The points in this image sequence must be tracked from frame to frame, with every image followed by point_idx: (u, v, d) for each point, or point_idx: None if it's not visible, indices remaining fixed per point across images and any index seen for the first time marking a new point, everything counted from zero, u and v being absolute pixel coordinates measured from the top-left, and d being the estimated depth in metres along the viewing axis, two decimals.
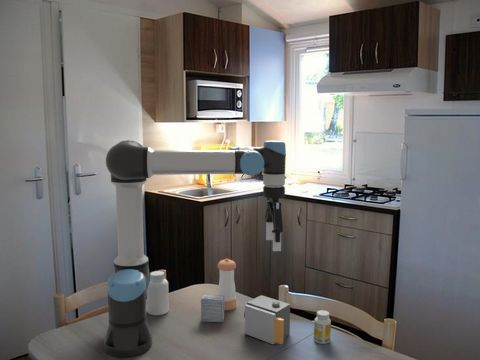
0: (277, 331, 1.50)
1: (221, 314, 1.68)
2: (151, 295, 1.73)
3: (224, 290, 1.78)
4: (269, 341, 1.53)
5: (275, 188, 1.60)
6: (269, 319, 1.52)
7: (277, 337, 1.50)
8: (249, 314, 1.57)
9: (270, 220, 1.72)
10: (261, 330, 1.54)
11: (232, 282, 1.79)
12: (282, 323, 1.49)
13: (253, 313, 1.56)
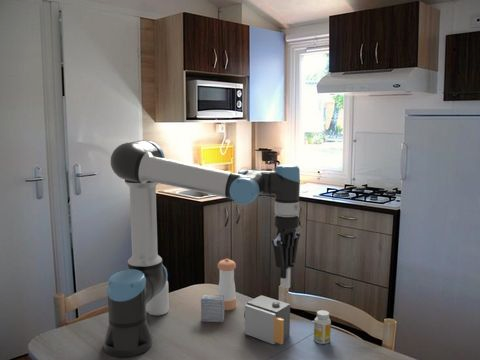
0: (277, 331, 1.50)
1: (221, 314, 1.68)
2: None
3: (224, 290, 1.78)
4: (269, 341, 1.53)
5: (280, 217, 1.44)
6: (269, 319, 1.52)
7: (277, 337, 1.50)
8: (249, 314, 1.57)
9: (287, 263, 1.50)
10: (261, 330, 1.54)
11: (232, 282, 1.79)
12: (282, 323, 1.49)
13: (253, 313, 1.56)
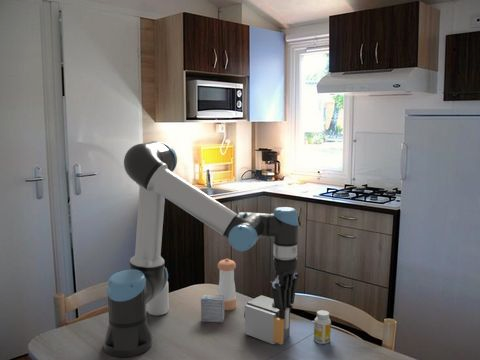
0: (277, 331, 1.50)
1: (221, 314, 1.68)
2: None
3: (224, 290, 1.78)
4: (269, 341, 1.53)
5: (278, 260, 1.46)
6: (269, 319, 1.52)
7: (277, 337, 1.50)
8: (249, 314, 1.57)
9: (286, 304, 1.51)
10: (261, 330, 1.54)
11: (232, 282, 1.79)
12: (282, 323, 1.49)
13: (253, 313, 1.56)
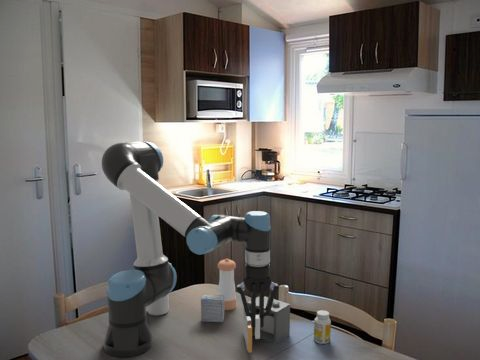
0: (247, 338, 1.46)
1: (221, 314, 1.68)
2: None
3: (224, 290, 1.78)
4: (246, 346, 1.49)
5: (246, 264, 1.42)
6: (246, 324, 1.48)
7: (247, 344, 1.46)
8: (244, 314, 1.56)
9: (260, 313, 1.44)
10: (245, 333, 1.52)
11: (232, 282, 1.79)
12: (249, 331, 1.44)
13: (244, 314, 1.55)
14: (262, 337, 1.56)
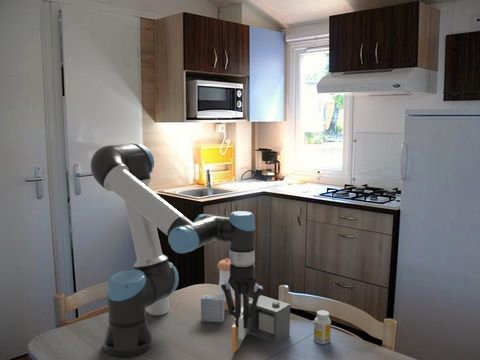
0: None
1: (221, 314, 1.68)
2: None
3: None
4: None
5: (231, 263, 1.43)
6: None
7: None
8: None
9: None
10: None
11: None
12: (233, 330, 1.44)
13: None
14: (262, 337, 1.56)
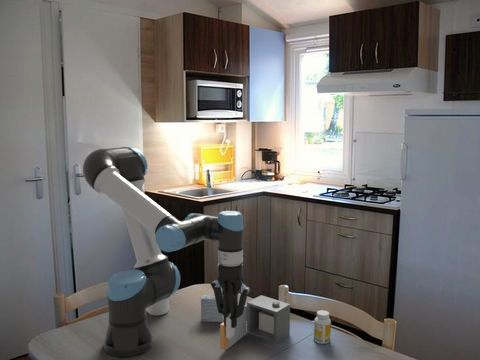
0: None
1: (221, 314, 1.68)
2: None
3: None
4: None
5: None
6: None
7: None
8: None
9: None
10: None
11: None
12: (221, 328, 1.46)
13: None
14: (262, 337, 1.56)
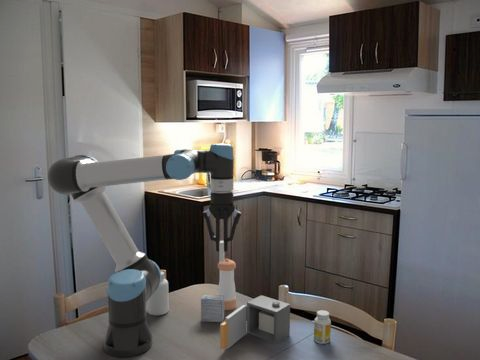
0: None
1: (221, 314, 1.68)
2: (151, 295, 1.73)
3: (224, 290, 1.78)
4: None
5: (211, 192, 1.55)
6: None
7: None
8: None
9: (224, 239, 1.56)
10: None
11: (232, 282, 1.79)
12: (221, 328, 1.46)
13: None
14: (262, 337, 1.56)
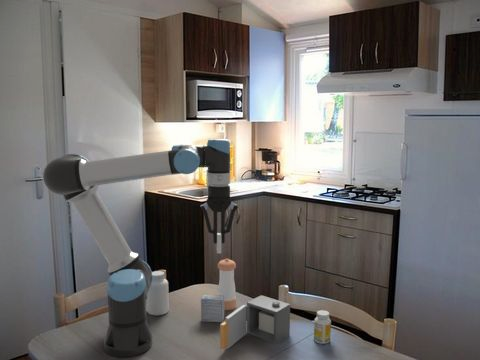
0: None
1: (221, 314, 1.68)
2: (151, 295, 1.73)
3: (224, 290, 1.78)
4: None
5: (208, 186, 1.59)
6: None
7: None
8: None
9: None
10: None
11: (232, 282, 1.79)
12: (221, 328, 1.46)
13: None
14: (262, 337, 1.56)
